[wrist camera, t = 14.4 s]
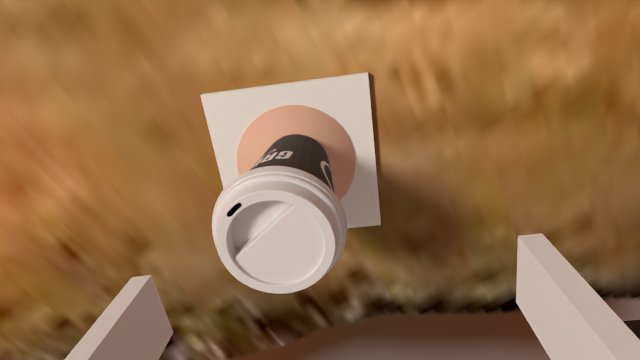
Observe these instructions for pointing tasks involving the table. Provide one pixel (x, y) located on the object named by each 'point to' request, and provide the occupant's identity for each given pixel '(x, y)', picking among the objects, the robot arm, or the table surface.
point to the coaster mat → (302, 133)
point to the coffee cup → (281, 219)
